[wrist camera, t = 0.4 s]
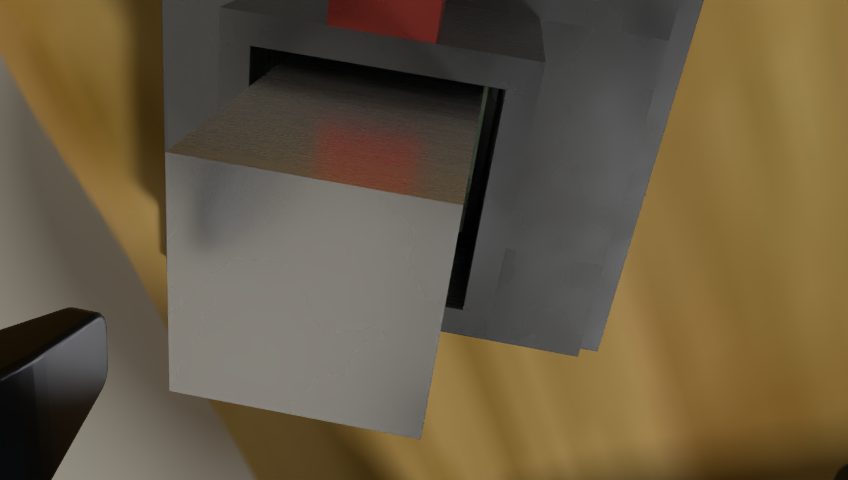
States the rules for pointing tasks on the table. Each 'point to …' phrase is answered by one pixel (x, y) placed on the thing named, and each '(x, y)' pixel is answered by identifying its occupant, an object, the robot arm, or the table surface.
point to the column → (319, 241)
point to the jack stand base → (486, 128)
